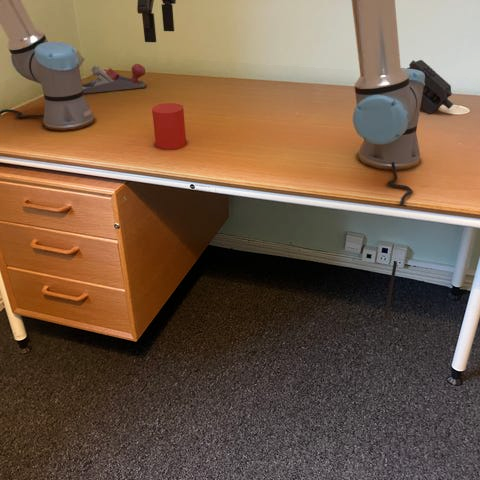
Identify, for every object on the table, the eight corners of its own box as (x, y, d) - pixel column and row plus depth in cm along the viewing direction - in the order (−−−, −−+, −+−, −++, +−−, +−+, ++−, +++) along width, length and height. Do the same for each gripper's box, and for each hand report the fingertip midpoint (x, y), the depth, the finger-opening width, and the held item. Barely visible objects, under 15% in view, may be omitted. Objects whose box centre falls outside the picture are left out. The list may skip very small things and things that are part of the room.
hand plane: (62, 90, 197) (53, 48, 189) (145, 82, 205) (140, 41, 197) (62, 96, 191) (54, 53, 184) (148, 87, 199) (143, 45, 191)
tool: (390, 90, 180) (417, 54, 169) (433, 128, 176) (464, 93, 165) (382, 95, 176) (409, 57, 165) (425, 133, 172) (456, 97, 161)
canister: (189, 139, 154) (186, 103, 148) (181, 150, 147) (178, 113, 141) (161, 137, 155) (157, 102, 150) (151, 148, 148) (147, 112, 143)
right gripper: (155, -62, 135) (162, 26, 147) (114, -56, 115) (127, 46, 126) (183, -62, 134) (188, 27, 145) (147, -56, 113) (157, 47, 125)
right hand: (160, 36), depth 136 cm, fingers open, 13 cm apart
